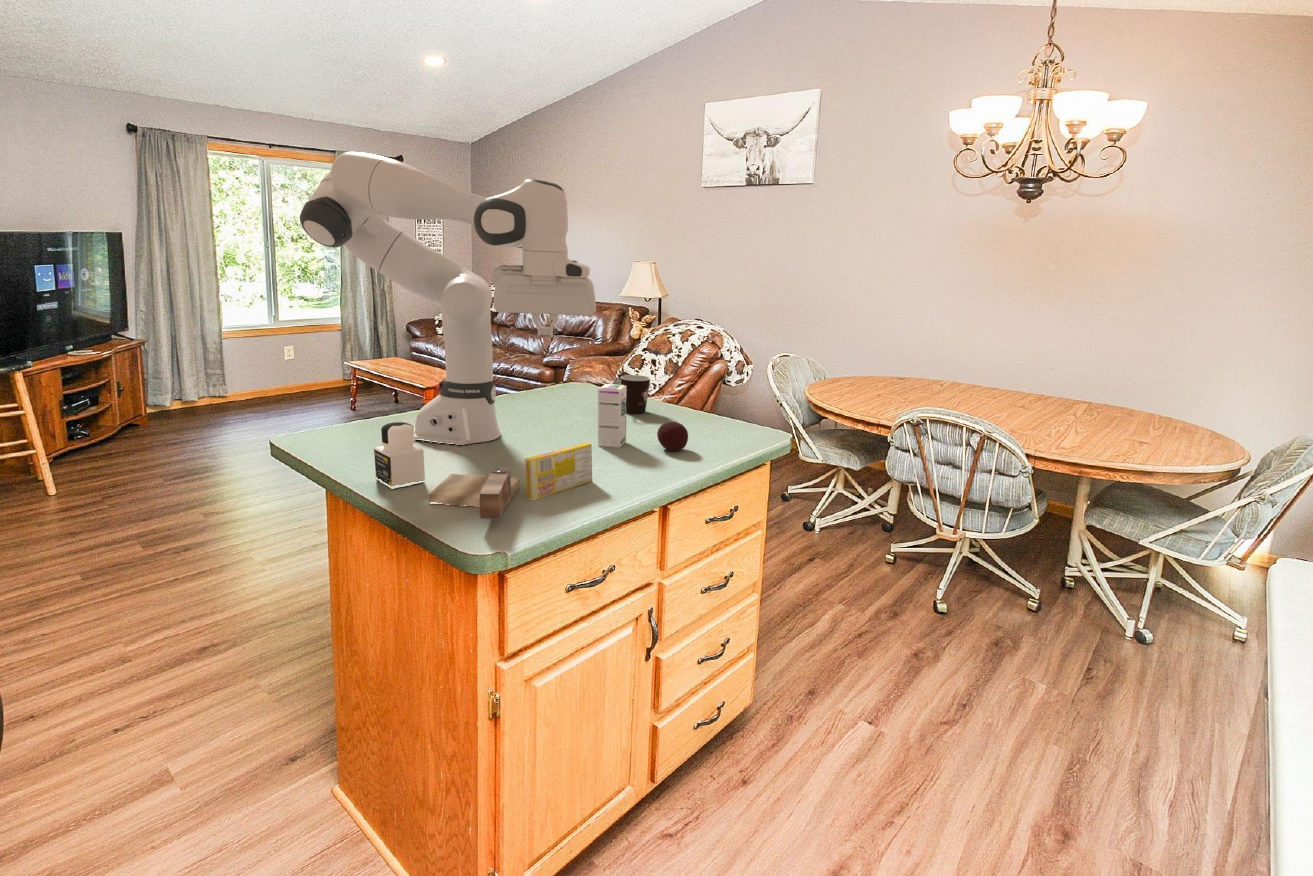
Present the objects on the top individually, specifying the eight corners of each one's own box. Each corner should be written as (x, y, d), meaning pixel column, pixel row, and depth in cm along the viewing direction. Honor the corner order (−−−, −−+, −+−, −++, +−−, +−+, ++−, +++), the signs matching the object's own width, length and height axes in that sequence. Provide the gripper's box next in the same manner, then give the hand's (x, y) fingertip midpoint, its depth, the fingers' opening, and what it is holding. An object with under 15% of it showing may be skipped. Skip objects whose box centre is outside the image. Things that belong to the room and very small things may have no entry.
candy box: (585, 480, 153) (586, 441, 151) (593, 482, 152) (593, 444, 149) (524, 498, 141) (524, 457, 139) (531, 501, 140) (531, 459, 138)
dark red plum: (673, 456, 171) (675, 427, 170) (650, 449, 177) (651, 420, 175) (694, 450, 177) (696, 422, 175) (670, 443, 182) (672, 416, 180)
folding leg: (492, 490, 138) (492, 467, 137) (512, 490, 138) (511, 468, 137) (479, 518, 124) (478, 493, 123) (500, 519, 124) (499, 494, 123)
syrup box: (620, 448, 176) (622, 389, 172) (596, 446, 177) (597, 387, 173) (626, 442, 182) (627, 384, 178) (603, 440, 183) (604, 382, 179)
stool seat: (429, 504, 136) (428, 494, 135) (451, 483, 147) (450, 473, 147) (503, 509, 135) (503, 498, 134) (519, 487, 146) (519, 478, 146)
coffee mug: (636, 407, 219) (637, 374, 216) (655, 413, 212) (656, 379, 210) (605, 411, 212) (605, 377, 209) (623, 417, 205) (624, 382, 203)
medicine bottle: (375, 481, 147) (371, 423, 144) (409, 474, 152) (406, 418, 149) (391, 490, 142) (387, 430, 139) (425, 483, 147) (423, 425, 144)
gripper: (489, 264, 141) (490, 336, 145) (595, 268, 142) (594, 340, 146) (494, 263, 147) (496, 332, 151) (596, 267, 148) (595, 336, 152)
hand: (545, 336), depth 148 cm, fingers closed
